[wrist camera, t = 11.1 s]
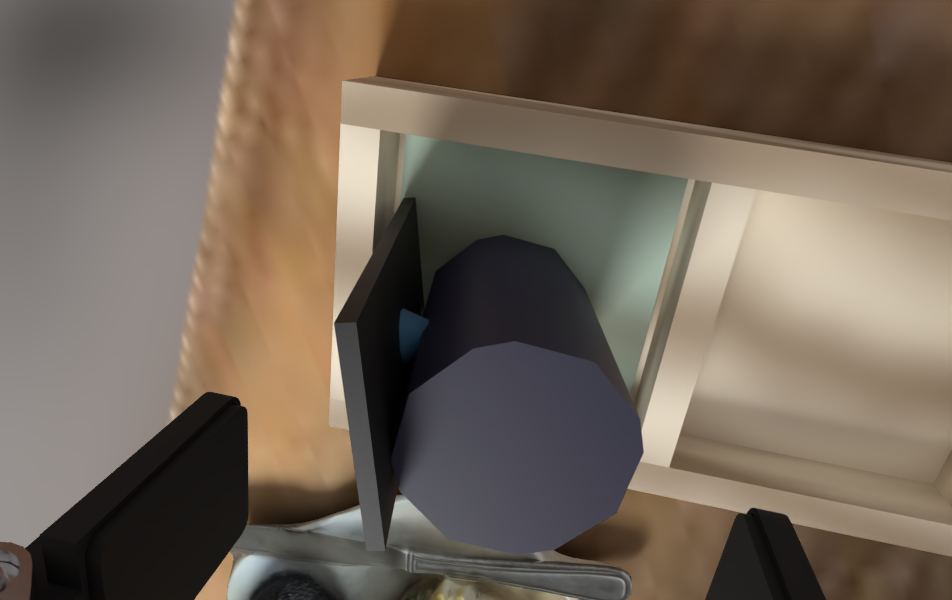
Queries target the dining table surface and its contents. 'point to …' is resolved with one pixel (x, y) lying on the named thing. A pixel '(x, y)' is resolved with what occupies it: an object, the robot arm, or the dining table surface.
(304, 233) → the dining table surface
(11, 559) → the robot arm
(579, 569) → the avocado toast plate
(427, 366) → the speaker
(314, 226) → the dining table surface
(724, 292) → the sorting tray
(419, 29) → the dining table surface
